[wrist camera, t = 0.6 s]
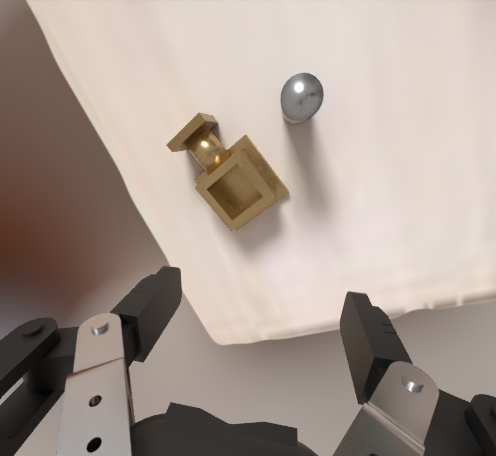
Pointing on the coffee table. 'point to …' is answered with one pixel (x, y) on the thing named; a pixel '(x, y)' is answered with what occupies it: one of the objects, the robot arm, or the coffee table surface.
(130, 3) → the coffee table surface
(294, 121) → the silver round-ended rod
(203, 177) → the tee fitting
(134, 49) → the coffee table surface
